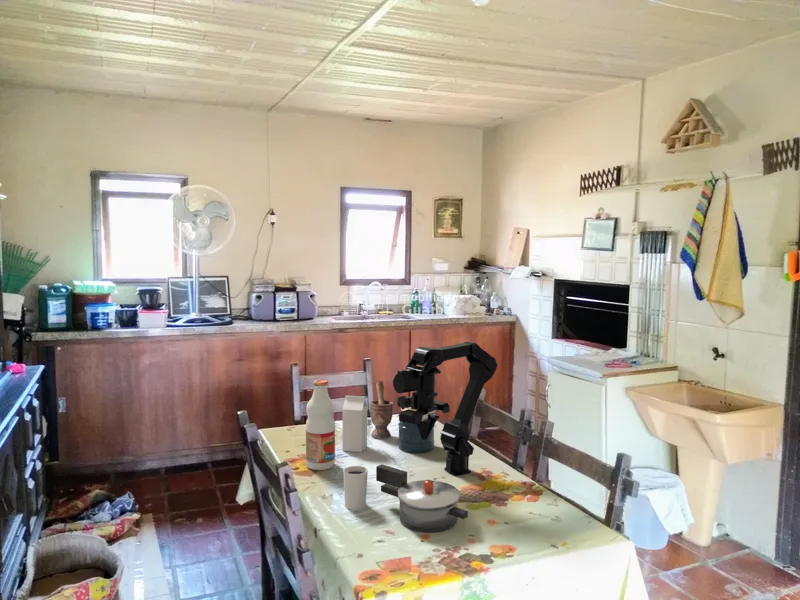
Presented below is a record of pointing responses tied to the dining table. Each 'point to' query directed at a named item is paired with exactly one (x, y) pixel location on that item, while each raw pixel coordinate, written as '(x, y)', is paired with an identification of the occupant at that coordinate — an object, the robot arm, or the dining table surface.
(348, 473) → the white cup
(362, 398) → the milk carton
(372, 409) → the mortar and pestle
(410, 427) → the canister
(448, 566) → the dining table surface
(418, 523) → the pot
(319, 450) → the fruit juice
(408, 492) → the lid
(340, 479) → the dining table surface
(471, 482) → the dining table surface
